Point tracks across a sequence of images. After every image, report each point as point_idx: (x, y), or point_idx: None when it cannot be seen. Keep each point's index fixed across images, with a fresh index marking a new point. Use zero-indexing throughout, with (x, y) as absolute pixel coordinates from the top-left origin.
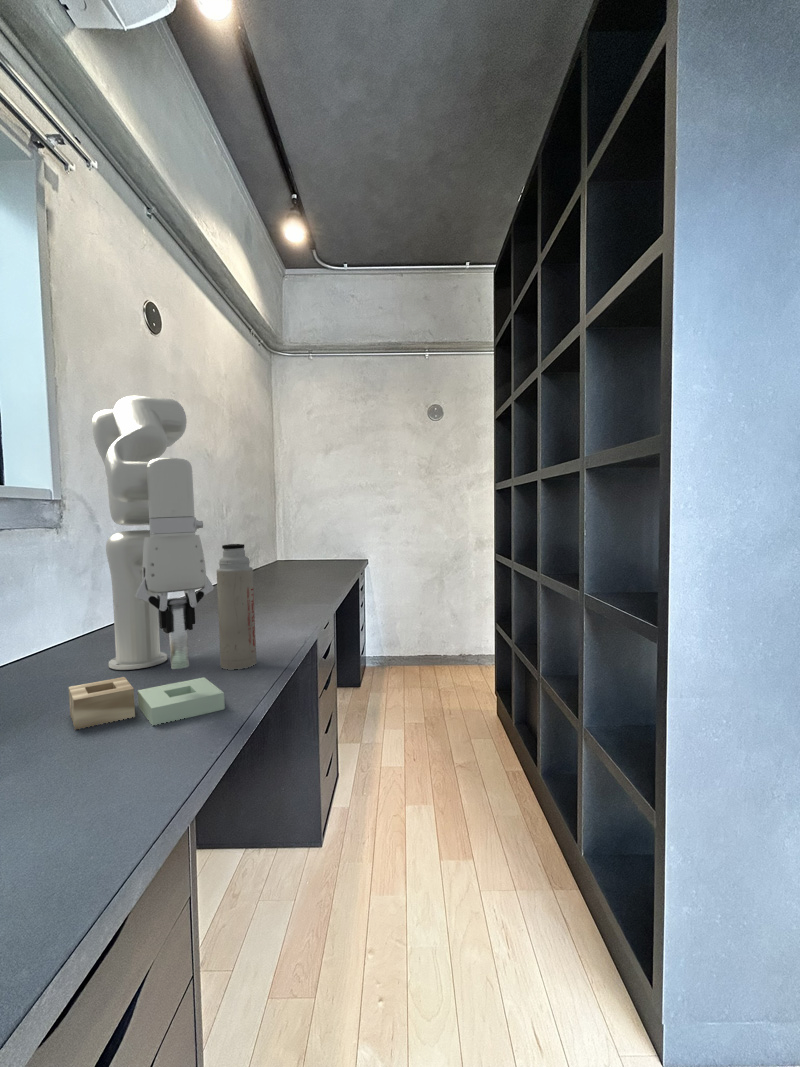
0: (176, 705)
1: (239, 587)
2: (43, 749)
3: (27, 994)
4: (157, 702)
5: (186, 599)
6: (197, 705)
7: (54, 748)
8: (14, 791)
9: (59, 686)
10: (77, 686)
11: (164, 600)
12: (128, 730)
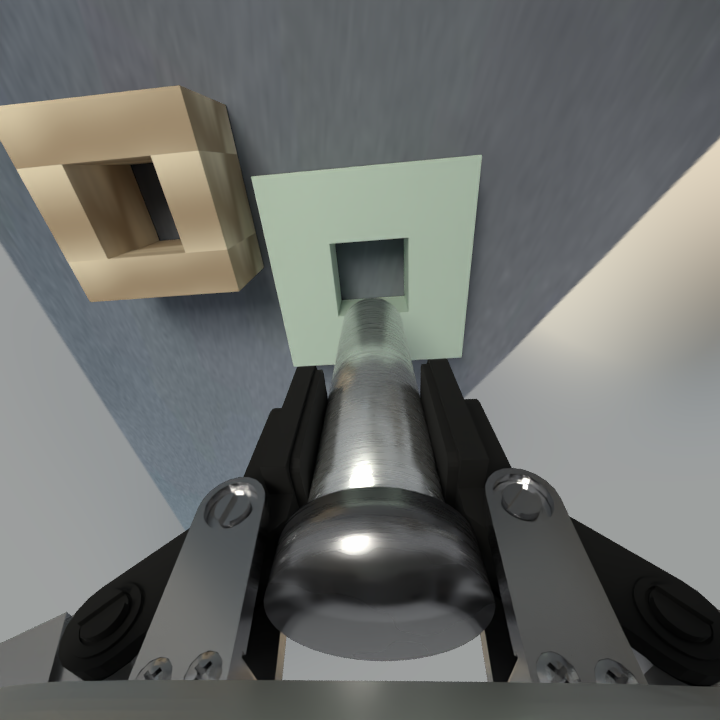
0: None
1: None
2: (117, 346)
3: None
4: (307, 335)
5: (455, 634)
6: None
7: (137, 352)
8: (143, 456)
9: None
10: (21, 127)
11: (261, 653)
12: (257, 341)
